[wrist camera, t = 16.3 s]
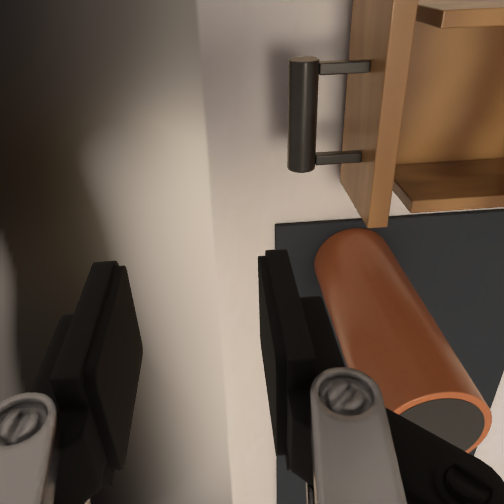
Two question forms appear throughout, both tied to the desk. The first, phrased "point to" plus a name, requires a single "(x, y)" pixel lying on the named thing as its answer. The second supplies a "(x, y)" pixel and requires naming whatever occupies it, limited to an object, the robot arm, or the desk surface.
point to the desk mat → (424, 289)
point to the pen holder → (397, 338)
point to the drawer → (411, 107)
